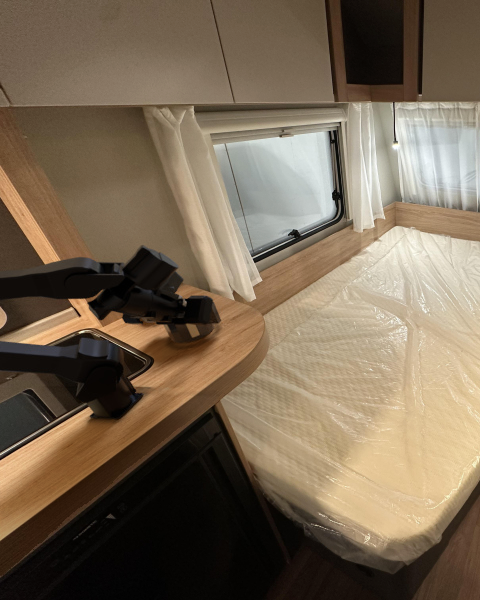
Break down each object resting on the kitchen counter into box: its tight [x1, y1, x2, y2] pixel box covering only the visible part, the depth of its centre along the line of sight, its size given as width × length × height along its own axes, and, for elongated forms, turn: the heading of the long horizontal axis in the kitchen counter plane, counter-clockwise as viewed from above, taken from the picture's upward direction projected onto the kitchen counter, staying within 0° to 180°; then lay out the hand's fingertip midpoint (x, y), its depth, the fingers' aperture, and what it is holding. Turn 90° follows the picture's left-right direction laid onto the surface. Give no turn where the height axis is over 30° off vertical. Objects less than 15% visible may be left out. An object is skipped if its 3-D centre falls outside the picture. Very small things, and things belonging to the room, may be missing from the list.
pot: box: [163, 301, 222, 344], centre depth 84 cm, size 11×18×9 cm, turn 86°
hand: (195, 317), depth 77 cm, fingers closed
